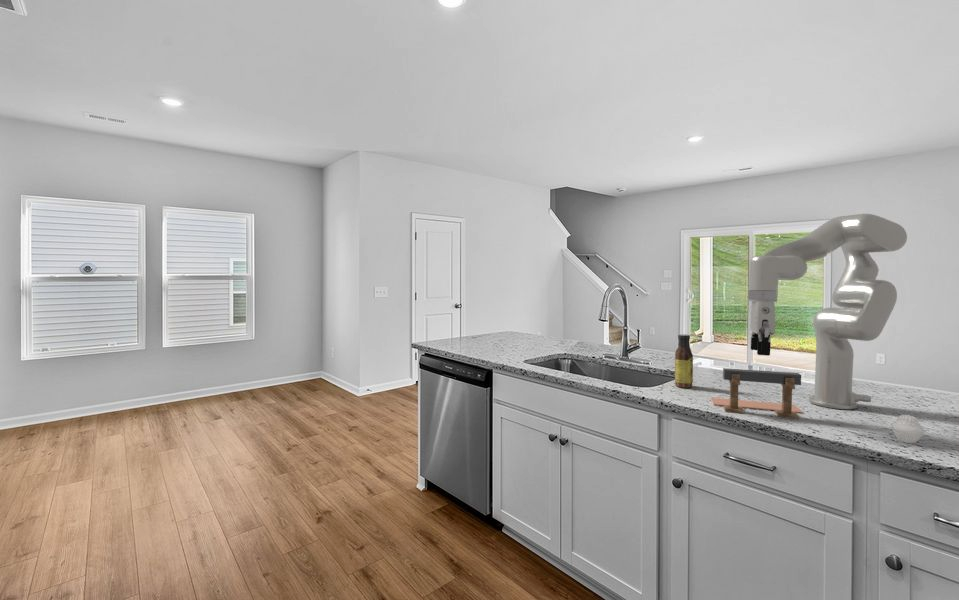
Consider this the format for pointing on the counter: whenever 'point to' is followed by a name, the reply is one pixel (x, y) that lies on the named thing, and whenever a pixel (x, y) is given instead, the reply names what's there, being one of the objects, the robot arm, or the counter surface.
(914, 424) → the muffin
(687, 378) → the sauce bottle
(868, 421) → the counter surface
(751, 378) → the rail
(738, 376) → the hook stands
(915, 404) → the counter surface
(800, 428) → the counter surface
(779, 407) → the mat
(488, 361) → the counter surface
